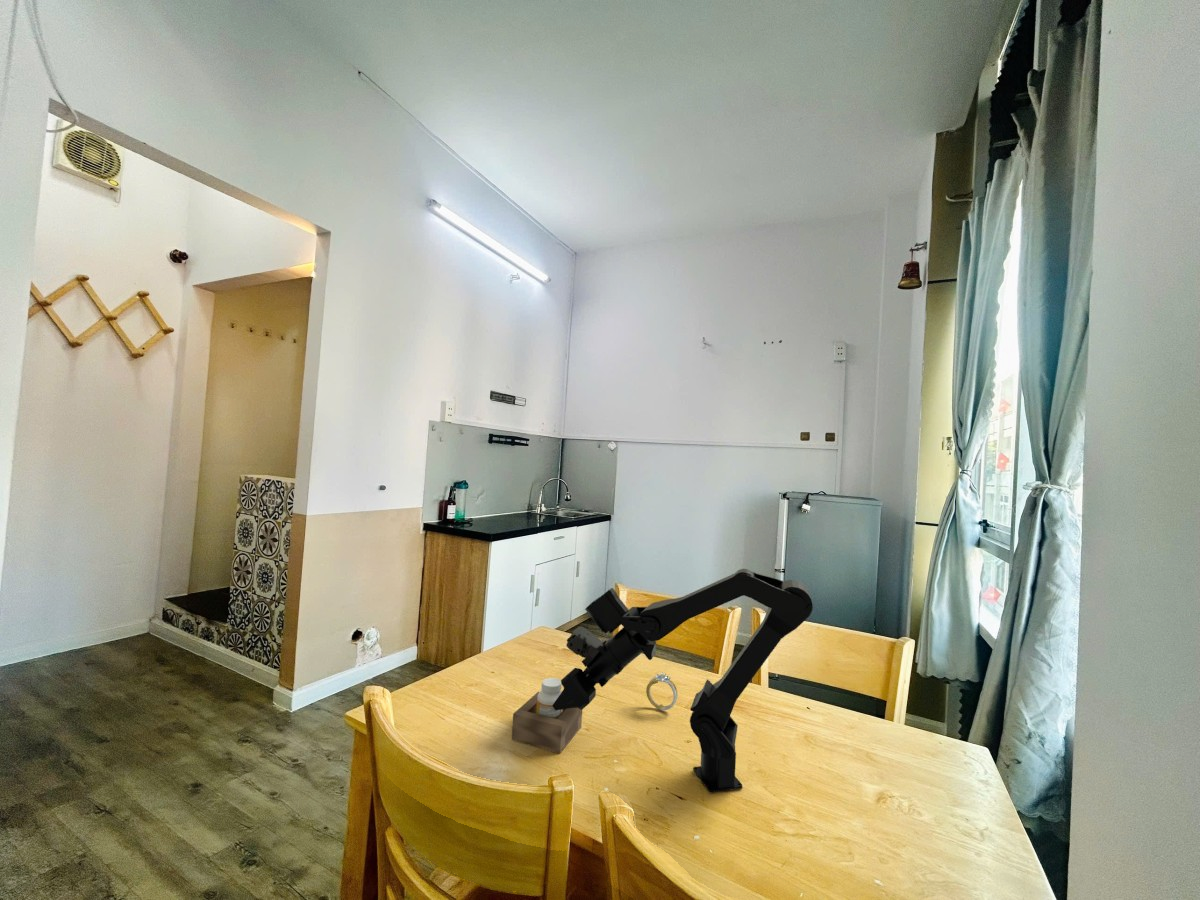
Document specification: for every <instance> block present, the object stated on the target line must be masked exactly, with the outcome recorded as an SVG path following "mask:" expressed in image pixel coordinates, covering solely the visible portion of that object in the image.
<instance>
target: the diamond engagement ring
mask: <svg viewBox="0 0 1200 900" xmlns="http://www.w3.org/2000/svg"><path fill="white" fill-rule="evenodd" d="M659 682H660V683H665V684H667V685H668V686H669V687H670V688H671V691H672V695H673V699H672V702H671V703H670V704H669V705H663V704H658V703H657V702H656V701H655V700H654V699H653V695H652V694H651V687H652V686H653V685H655V684H658V683H659ZM645 691H646V696H647V697H646V698H647V699H648V701H649V702H650V704H651V706H653V707H655V709H658V711H660V712H662V711H668V710H670V709H672V708H673V707H674V705H675V704H676V703H677V700H678V689H677V686H676V684H675V683H674V681H672V680H671V677H670V676H669V675H667V674H666V673H665V674H664V672H661V674H659V673H656V675H655V676H653V677H652V678H651V679H650V680H649V682H648V684H647V685H646V688H645Z"/></svg>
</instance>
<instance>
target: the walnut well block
mask: <svg viewBox="0 0 1200 900" xmlns="http://www.w3.org/2000/svg"><path fill="white" fill-rule="evenodd" d="M539 692H540V691H537V692H536V693H535V694H534V695H533V696H531V697H530V698H529V699H528V700H527V701H526V702H525V703H523V704H522V705H521V706H520V707H519V708H518V709H516V710H515V711H514V712H513V713H512V725H511V726H512V727H511V741H514V742H518V743H521V744H524V745H525V744H526V745H528V746H529V745H530V746H531V747H534V748H539V749H543V750H546V751H548V752H553V753H556V754H559V755H560V754H561V753H562V752H563V751H564V749H565V748H567V746H568V744H569V743H570V742H571V741H572V739H574V737H575V735H576V734H577V733H578V732H579V731H580V729H581V728H582V727H583V726H582V723H583V722H582V721H583V709H582V710H581V709H579V708H568V709H563V713H562V714H561V715H560V716H559V717H558V718H557V719H554V718H550V717H546V716H542V715H538V714H536V711H537V697H538V694H539Z"/></svg>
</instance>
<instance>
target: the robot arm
mask: <svg viewBox="0 0 1200 900" xmlns="http://www.w3.org/2000/svg"><path fill="white" fill-rule="evenodd" d="M744 596H745V597H747V598H750V599H752V600H754V601H755V602H757V603H759V604H761V605H763V606H765V607H767V608H768V609H767V611H766V612H765V616H764V617H763V620H762V621H761V623H760V624H759V626H757V628H756V630H755V631H754V632H753V634H752V635H751V637H750V638H749V640H748V641H747V642H746V644H745V645H744V647H742V649H741V650H740V652H739V653H738V655H737V656H736V658H735V659H734V660H733V661H732V663H731V665H730V666H729V667H728V668H727V670H726V671H725V673H724V674H723V676H722V677H721V678H720V679H719V680H718V681H715V683H712V681H710V679H708V678H707V679H706V680H705V683H704V685H703V686H702V689H701V690H700V691H698V692H697V693H695V696H694V698H693V701H692V704H691V707H690V708H689V710H690V711H691V715H690V718H689V724H690V728H691V730H692V732H693V734H694V735H695V736H696V737H697V740H698V742H699V745H700V748H701V749H700V751H701V752H700V766H693V767H692V770H693V773H694V775H696V777H697V778H698V779H699V781H700V782H701V783H702V785H703V786H704V787H705V789H706V790H707V792H708V793H711V794H712V793H714V794H715V793H720V792H721V793H722V792H727V791H735V790H740V789H743V784H742V781H740V780H739V779H738V778H737V777H736V760H737V752H736V740H737V733H738V726H739V725H738V724H737V723H736V721H735V720H734V719H733V718H732V716H731V714H732V712H733V710H734V707H735V704H736V702H737V700H738V698H739V697H741V695H742V693H743V692H744V691H745V689H746V688H747V687H748V685H749V683H750V682H751V681H752V680H753V678H754V677H755V676H756V674H757V673H758V672H759V670H760V669H761V667H763V665H764V664H765V662H766V661H767V660H768V658H769V656H771V654H772V653H773V651H774V649H776V648H777V646H778V644H779V643H780V642H781V640H782V639H783V638H785V637H786V636H787V635H789V634H791V633H793V632H794V631H795V630H797V629H798V627H800V626H801V625H802V624H803V623H804V622H805V621H806V620H807V619H808V618H809V617H810V616H811V614H812V612H813V609H814V607H813V606H814V605H813V604H814V603H813V601H812V596H811V594H810V591H809V590H808V587H807V586H806V585H805V584H803V583H802V582H801V581H798V580H795V579H788V580H781V579H779V578H776V577H774V576H773V577H772V576H768V575H765V574H761V573H757V572H754V571H752V570H749V569H748V568H740V569H738V570H736V571H735V572H734V573H732V574H730V575H727V576H726V577H723V578H721V579H719V580H716V581H715V582H713V583H710V584H708V585H705V586H703V587H701V588H699V589H697V590H694V591H693V592H690V593H688V594H686V595H683V596H681V597H677V598H668V599H663V600H658V601H656V602H655V601H654V602H652V603H650V604H649V605H647V606H632V607H630V608H628V607H627V606H626V604H625V603H624V602H623V601H622V600H621V597H619V595H618V593H617V591H615V589H614V588H613V587H611V588H609V589H608V590H607V591H606V592H604V593H603V594H601V596H599V597H598V598H596V599H595V600H593V601H592V602H591V603H590V604H589V605H588V606H586V607H585V611H586V613H588V615H589V616H590V618H591V619H592V620H593V622H594V623H595V625H596V626H597V627H598V628H599V630H600V631H601V633H604V634H607V633H609V634H612V633H613V632H614V631H616V630H617V629H618V628H619V627H620V626H622V628H621V629H620V630H619V631H617V632H616V633H615V634H614V635H612V636H611V637H610V638H607V639H606V640H604V641H602V640H601V639H599V637H598V636H597V635H595V634H594V633H593V632H591V631H590V630H588V629H587V628H585V627H583V626H578V627H577V628H575V629H574V630H573V631H572V632H571V634H570V636H569V637H568V638H567V639H566V647H567V648H568V650H569V651H571V653H574V654H575V655H576V656H580V657H582V658H583V659H582V660H581V663H582V664H583V666H584V667H585V668H584V670H583V669H582V668H578V667H574V668H573V669H572V670H570V671H569V672H568V673H567V674H566V675H565V676H564V677H562V679H561V680H560V681H561V687H562V688H563V689H562V690H561V691H562V692H561V694H560V695H559V697H558V698H557V699H556V701H555V702H554V704H553V705H552V706H553V708H554V709H555V710H561V709H568V708H579V709H581V710H582V711H583V710H584V709H585V708H586V707H587V706H588V705H590V703H591V702H592V701H593V700H594V699H595V698H596V694H597V693H596V692H597V689H596V687H595V686H596V685H597V684H599V686H600V687H601V688H603V687H605V685H607V684H608V682H609V681H610V680H611V679H613V678H614V676H616V675H619V674H620V673H621V672H622V670H624V669H625V668H626V667H627V666H628V665H629V664H630V663H631V662H633V661H634V660H635V659H636V658H637V657H638V656H640V655H641V654H644V656H645V657H646V659H648V660H649V661H652V660H653V659H654V656H655V655H656V654H657V650H656V649H657V648H656V646H657V642H658V641H660V640H662V639H663V638H664V637H666V636H668V635H669V634H670V633H672V632H673V631H675V630H676V629H678V627H680V626H681V625H682V624H683V623H685V622H686V621H688V620H690V619H692V618H694V617H697V616H699V615H701V614H703V613H706V612H709V611H710V610H713V609H715V608H717V607H720V606H723V605H725V604H727V603H729V602H732V601H735V600H736V599H738V598H740V597H744Z"/></svg>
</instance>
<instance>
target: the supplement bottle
mask: <svg viewBox="0 0 1200 900" xmlns="http://www.w3.org/2000/svg"><path fill="white" fill-rule="evenodd" d="M562 691H563V690H562V684H561V680H560V679H559V678H556V677H555V678H554V677H548V678H545V679H542V682H541V690H540V691H538V692H539V694H538V697H537V711H536V714H538V715H542V716H546V717H550V718H554V719H557V718H558V717H559V716H560V715H561V714H562V713H563V709H561V710H555V709H554V708H553V706H552V705H553V704H554V702H555V701H556V699H557V698H558V697H559V695H560V694H561V692H562Z"/></svg>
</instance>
